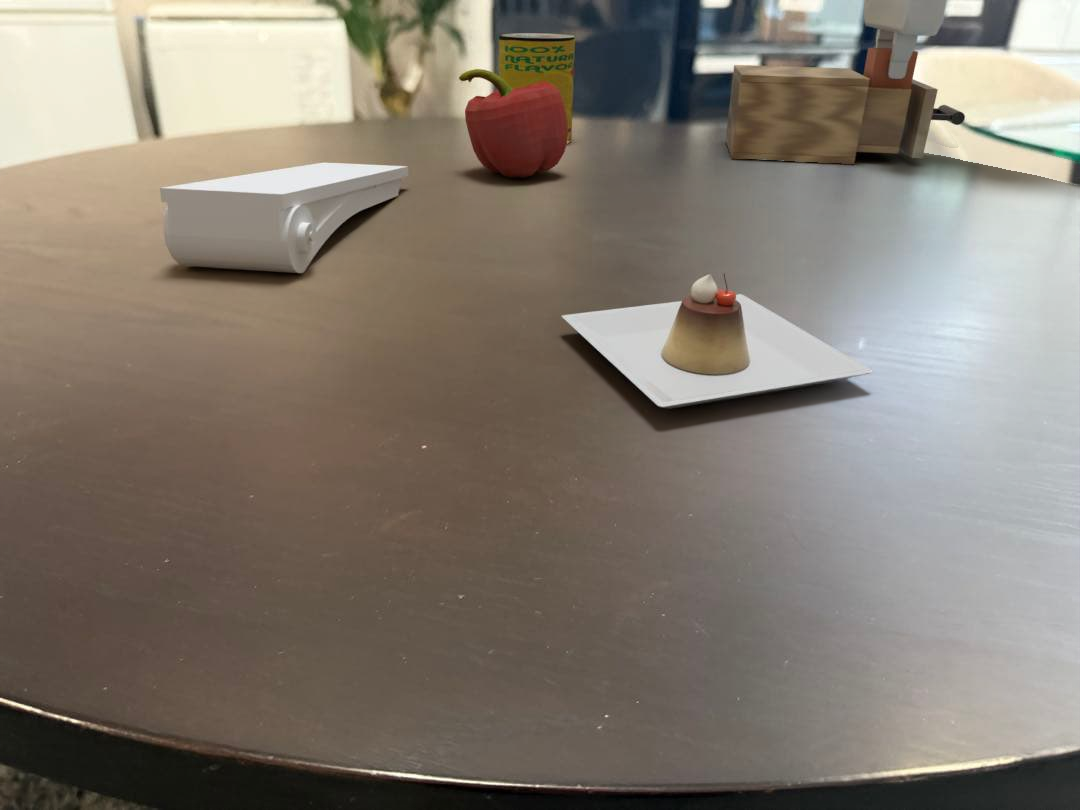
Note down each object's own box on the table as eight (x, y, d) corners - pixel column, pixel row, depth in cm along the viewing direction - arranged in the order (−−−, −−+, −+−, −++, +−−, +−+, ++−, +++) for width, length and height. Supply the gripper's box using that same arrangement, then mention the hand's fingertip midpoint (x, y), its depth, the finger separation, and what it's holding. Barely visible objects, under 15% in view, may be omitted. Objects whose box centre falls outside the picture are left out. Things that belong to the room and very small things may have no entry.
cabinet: (835, 146, 104) (849, 68, 100) (854, 164, 94) (870, 78, 90) (725, 141, 106) (734, 64, 102) (731, 159, 96) (741, 74, 91)
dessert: (870, 391, 42) (891, 301, 40) (657, 428, 38) (666, 330, 36) (739, 310, 52) (749, 234, 50) (560, 333, 48) (562, 252, 46)
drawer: (935, 143, 102) (949, 80, 99) (961, 160, 93) (978, 90, 90) (795, 138, 104) (805, 75, 101) (808, 153, 95) (818, 85, 91)
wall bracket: (329, 241, 82) (175, 302, 56) (308, 166, 80) (137, 193, 54) (425, 221, 80) (312, 274, 54) (406, 143, 78) (278, 159, 52)
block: (899, 89, 97) (908, 48, 95) (909, 94, 93) (918, 51, 91) (860, 88, 98) (868, 47, 96) (868, 92, 94) (876, 50, 92)
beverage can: (579, 146, 101) (584, 38, 96) (506, 147, 99) (507, 37, 94) (561, 133, 109) (564, 33, 103) (493, 135, 107) (492, 32, 102)
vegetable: (449, 182, 82) (446, 73, 78) (473, 161, 92) (471, 63, 87) (558, 187, 81) (561, 77, 76) (572, 166, 90) (575, 67, 86)
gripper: (979, -69, 79) (944, 86, 85) (921, -60, 97) (895, 68, 103) (910, -70, 79) (880, 84, 86) (865, -61, 98) (843, 66, 104)
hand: (888, 75), depth 95 cm, fingers closed on block, 4 cm apart
